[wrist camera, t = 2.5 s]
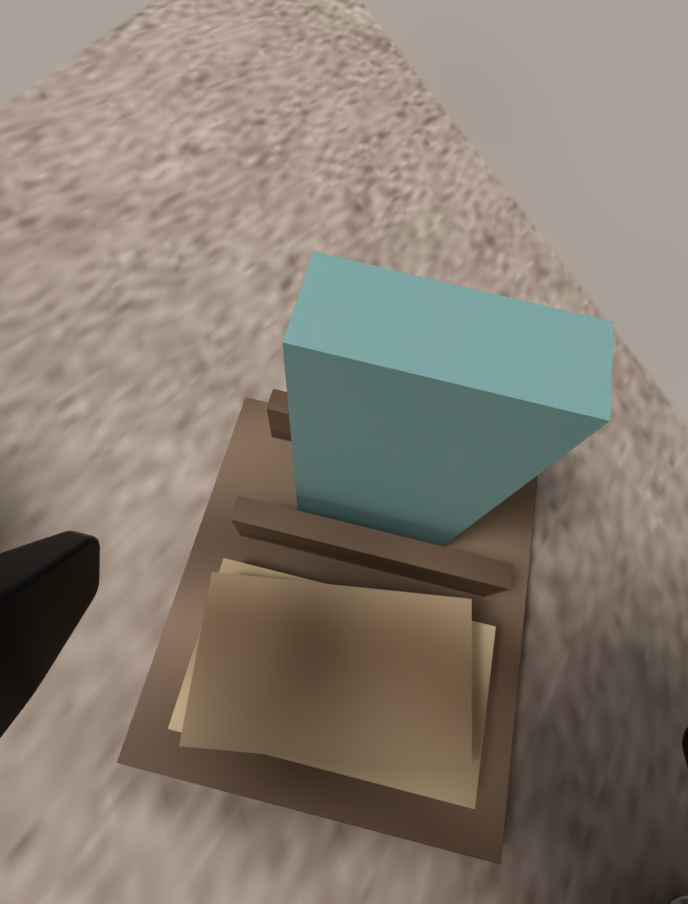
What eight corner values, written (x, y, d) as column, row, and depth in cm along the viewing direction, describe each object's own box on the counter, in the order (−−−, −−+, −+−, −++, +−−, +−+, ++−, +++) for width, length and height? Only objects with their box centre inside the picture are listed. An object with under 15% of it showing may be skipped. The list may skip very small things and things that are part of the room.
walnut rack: (487, 849, 16) (535, 904, 13) (129, 755, 16) (82, 783, 13) (526, 478, 21) (568, 444, 17) (248, 410, 21) (237, 364, 18)
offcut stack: (458, 793, 16) (494, 828, 13) (181, 721, 16) (151, 738, 13) (481, 616, 18) (516, 610, 15) (234, 554, 18) (219, 535, 15)
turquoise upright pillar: (442, 546, 18) (609, 421, 8) (297, 510, 18) (282, 342, 8) (450, 495, 19) (613, 322, 9) (311, 461, 19) (313, 251, 9)
